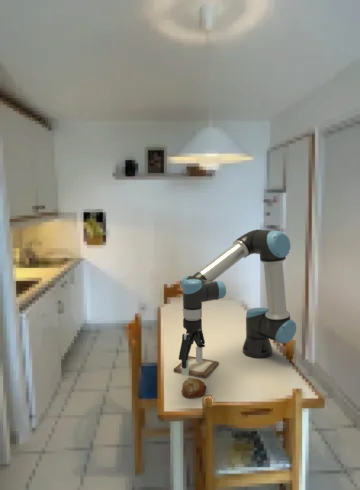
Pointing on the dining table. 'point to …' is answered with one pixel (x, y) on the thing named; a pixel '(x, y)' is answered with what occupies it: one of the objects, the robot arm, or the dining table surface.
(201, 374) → the walnut frame
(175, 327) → the dining table surface
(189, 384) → the bread roll
